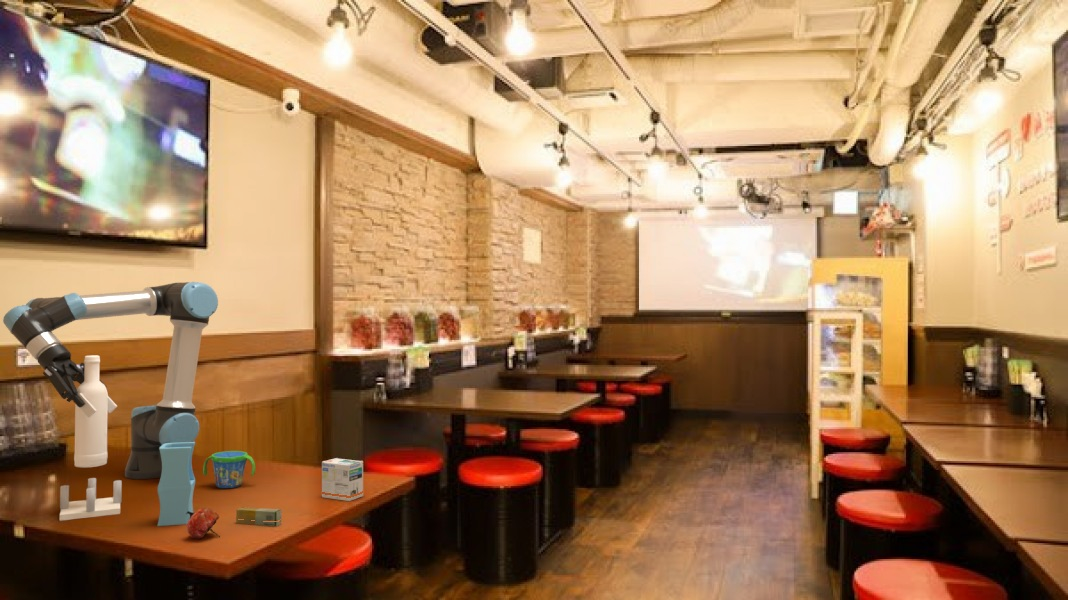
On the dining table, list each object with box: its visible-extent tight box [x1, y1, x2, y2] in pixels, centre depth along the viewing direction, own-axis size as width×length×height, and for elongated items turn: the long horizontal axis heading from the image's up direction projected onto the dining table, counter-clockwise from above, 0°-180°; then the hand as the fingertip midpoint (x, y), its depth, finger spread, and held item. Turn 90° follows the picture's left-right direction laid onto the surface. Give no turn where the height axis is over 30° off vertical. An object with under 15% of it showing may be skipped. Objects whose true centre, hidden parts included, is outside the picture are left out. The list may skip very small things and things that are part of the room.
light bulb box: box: [321, 457, 364, 502], centre depth 223 cm, size 11×7×11 cm, turn 65°
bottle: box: [73, 354, 109, 468], centre depth 207 cm, size 8×8×30 cm
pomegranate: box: [185, 507, 221, 540], centre depth 185 cm, size 7×7×10 cm
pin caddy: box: [59, 477, 123, 522], centre depth 207 cm, size 15×15×8 cm
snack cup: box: [202, 450, 256, 489], centre depth 235 cm, size 16×10×10 cm
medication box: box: [235, 506, 282, 528], centre depth 196 cm, size 12×3×4 cm, turn 78°
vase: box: [157, 441, 196, 527], centre depth 198 cm, size 8×8×20 cm
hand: (103, 411), depth 206 cm, fingers closed on bottle, 8 cm apart
